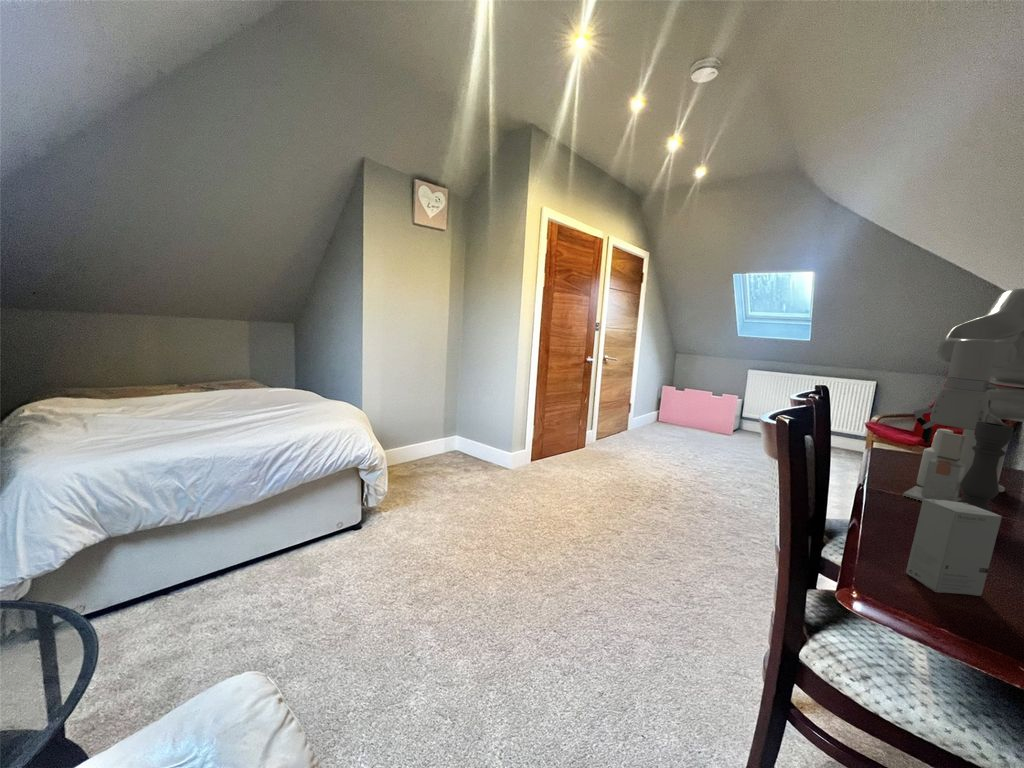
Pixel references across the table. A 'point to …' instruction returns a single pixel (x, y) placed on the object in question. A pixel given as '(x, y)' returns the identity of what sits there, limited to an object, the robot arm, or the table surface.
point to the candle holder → (985, 464)
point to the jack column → (951, 448)
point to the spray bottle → (930, 455)
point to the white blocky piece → (939, 482)
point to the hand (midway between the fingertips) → (951, 447)
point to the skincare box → (953, 546)
